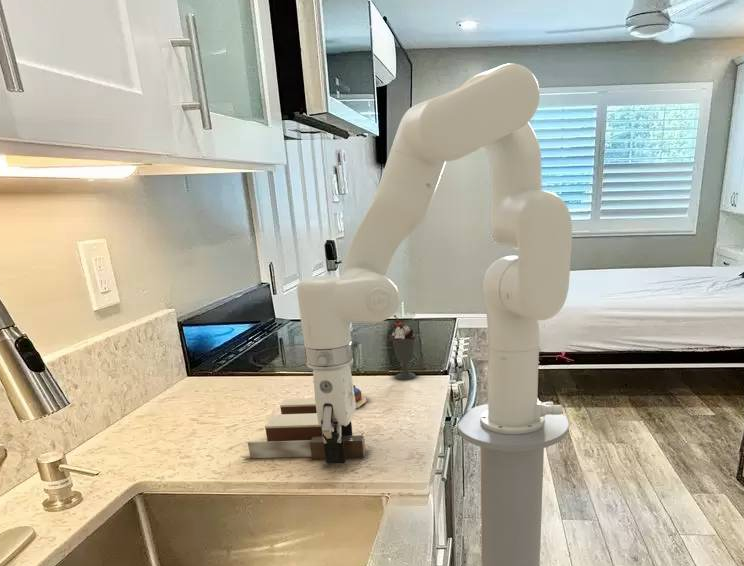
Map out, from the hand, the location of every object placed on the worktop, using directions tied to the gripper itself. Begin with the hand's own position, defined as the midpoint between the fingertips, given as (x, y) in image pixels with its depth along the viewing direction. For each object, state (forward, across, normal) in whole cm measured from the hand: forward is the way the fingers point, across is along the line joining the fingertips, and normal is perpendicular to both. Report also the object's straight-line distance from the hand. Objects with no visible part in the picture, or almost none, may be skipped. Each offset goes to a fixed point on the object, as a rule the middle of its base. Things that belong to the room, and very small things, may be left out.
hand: (340, 451), depth 99 cm
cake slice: (+1, +15, +9) cm, 17 cm away
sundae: (+1, +42, -8) cm, 43 cm away
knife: (+1, 0, +6) cm, 6 cm away
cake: (+1, +6, +8) cm, 10 cm away
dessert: (+1, +26, +2) cm, 26 cm away
